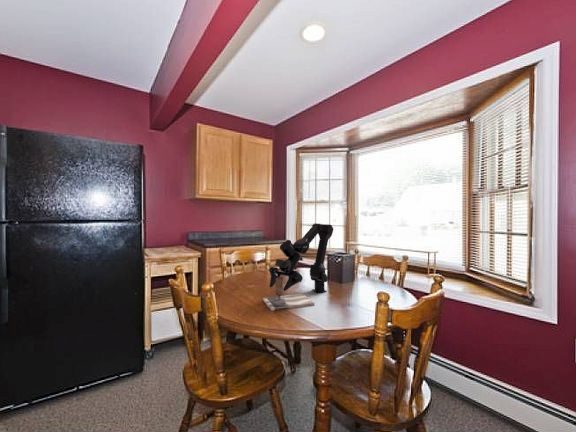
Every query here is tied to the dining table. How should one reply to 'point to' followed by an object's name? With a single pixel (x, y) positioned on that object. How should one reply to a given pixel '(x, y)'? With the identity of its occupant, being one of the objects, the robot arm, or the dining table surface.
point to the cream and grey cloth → (289, 302)
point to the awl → (279, 292)
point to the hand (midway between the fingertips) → (277, 288)
